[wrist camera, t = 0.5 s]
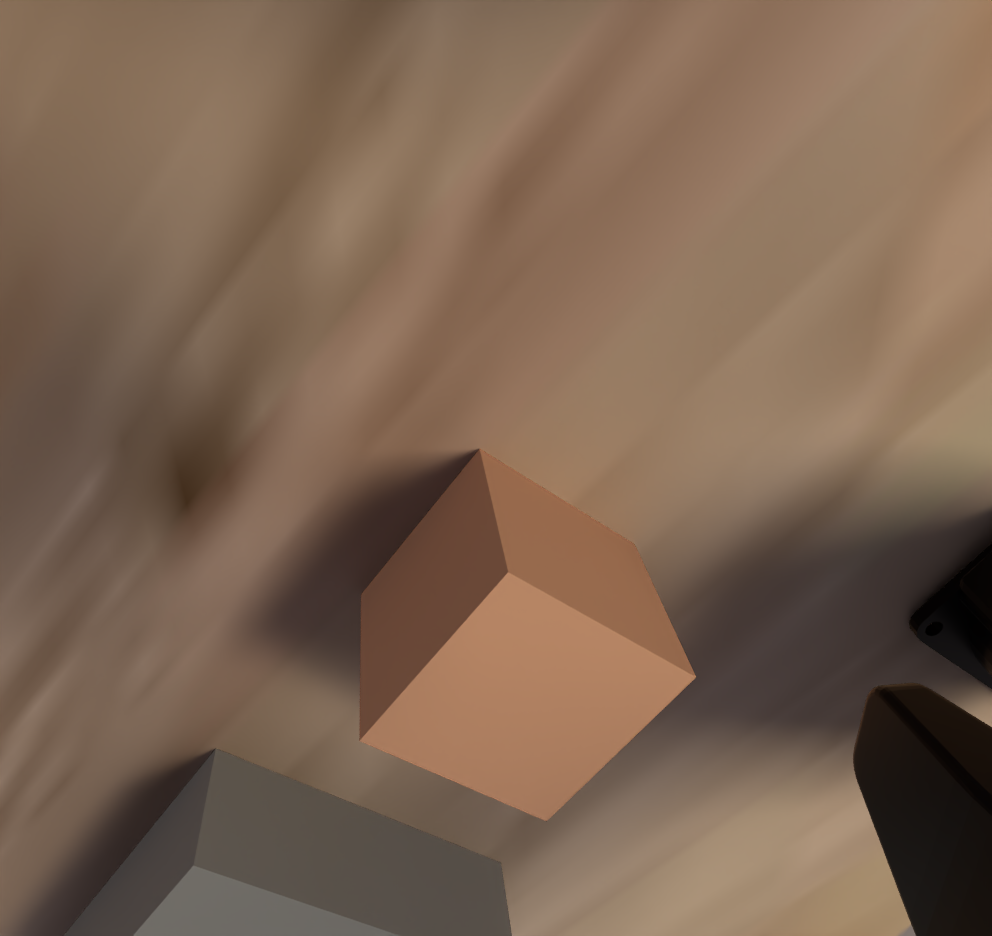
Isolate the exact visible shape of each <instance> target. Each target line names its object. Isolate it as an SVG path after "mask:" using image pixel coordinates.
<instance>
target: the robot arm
mask: <svg viewBox="0 0 992 936" xmlns="http://www.w3.org/2000/svg"><path fill="white" fill-rule="evenodd" d="M931 623H932V624H931ZM929 624H930V625H929ZM909 625H910V629H911V630H912V631H913V632H914V634H915V635H916V636H917V637H918V638H919V640H920V641H922V642H923V643H925V644H926V645H928V646H929V647H930V648H932V649H933V650H935V651H936V652H938V653H939V654H941V655H942V656H944V657H945V658H947V659H948V660H950V661H951V662H953V663H954V664H956V665H957V666H959V667H960V668H962V669H963V670H965V671H966V672H968V673H969V674H971V675H972V676H974V677H975V678H977V679H978V680H979V681H981V682H982V683H984V684H985V685H987V686H988V687H990V688H991V689H992V544H991V545H990V546H989V547H988V548H987V549H986V550H985V551H984V552H982V553H981V554H980V555H979V556H978V557H977V558H976V559H975V560H973V561H972V562H971V563H970V564H969V565H968V566H967V567H966V568H965V569H963V570H962V571H961V572H960V573H959V574H958V575H957V576H956V577H954V578H953V579H952V580H951V581H950V582H949V583H948V584H947V585H946V586H944V587H943V588H942V589H941V590H940V591H939V592H938V593H937V594H935V595H934V596H933V597H932V598H931V599H930V600H929V601H928V602H927V603H925V604H924V605H923V606H922V607H921V608H920V609H919V610H918V611H917V612H915V614H914V615H913V616H912V617H911V620H910V622H909ZM928 625H929V626H928ZM853 763H854V771H855V775H856V779H857V782H858V784H859V787H860V790H861V792H862V795H863V798H864V800H865V803H866V806H867V808H868V811H869V814H870V816H871V819H872V822H873V824H874V827H875V830H876V832H877V835H878V837H879V840H880V843H881V845H882V848H883V851H884V853H885V856H886V859H887V861H888V864H889V867H890V869H891V872H892V875H893V877H894V880H895V883H896V885H897V888H898V891H899V893H900V896H901V898H902V901H903V904H904V906H905V909H906V912H907V914H908V917H909V920H910V922H911V925H912V927H913V929H914V932H915V934H916V936H992V727H990V726H989V725H987V724H985V723H984V722H982V721H981V720H979V719H977V718H976V717H974V716H973V715H971V714H969V713H968V712H966V711H965V710H963V709H961V708H960V707H958V706H957V705H955V704H953V703H952V702H950V701H949V700H947V699H945V698H944V697H942V696H940V695H939V694H937V693H936V692H934V691H932V690H931V689H929V688H927V687H925V686H923V685H921V684H917V683H904V684H893V685H881V686H877V687H875V688H873V689H872V690H871V691H870V693H869V694H868V696H867V699H866V702H865V707H864V711H863V715H862V719H861V723H860V727H859V731H858V735H857V739H856V743H855V748H854V754H853Z"/></svg>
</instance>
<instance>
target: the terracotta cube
mask: <svg viewBox="0 0 992 936" xmlns="http://www.w3.org/2000/svg"><path fill="white" fill-rule="evenodd" d="M695 678H696V676H695V674H694V671H693V669H692V667H691V665H690V663H689V661H688V659H687V656H686V654H685V652H684V650H683V648H682V646H681V643H680V641H679V639H678V637H677V635H676V633H675V630H674V628H673V626H672V624H671V622H670V620H669V617H668V615H667V613H666V611H665V609H664V607H663V605H662V602H661V600H660V598H659V596H658V594H657V592H656V589H655V587H654V585H653V583H652V581H651V579H650V576H649V574H648V572H647V570H646V568H645V566H644V564H643V561H642V559H641V557H640V555H639V553H638V551H637V548H636V546H635V544H633V543H632V542H630V541H629V540H627V539H625V538H624V537H622V536H620V535H619V534H617V533H616V532H614V531H612V530H611V529H609V528H607V527H606V526H604V525H603V524H601V523H599V522H598V521H596V520H594V519H593V518H591V517H590V516H588V515H586V514H585V513H583V512H582V511H580V510H578V509H577V508H575V507H573V506H572V505H570V504H569V503H567V502H565V501H564V500H562V499H560V498H559V497H557V496H556V495H554V494H552V493H551V492H549V491H547V490H546V489H544V488H543V487H541V486H539V485H538V484H536V483H534V482H533V481H531V480H530V479H528V478H526V477H525V476H523V475H522V474H520V473H518V472H517V471H515V470H513V469H512V468H510V467H509V466H507V465H505V464H504V463H502V462H500V461H499V460H497V459H496V458H494V457H492V456H491V455H489V454H487V453H486V452H484V451H483V450H481V449H479V450H478V451H477V452H476V454H475V455H474V456H473V457H472V459H471V460H470V461H469V462H468V464H467V465H466V466H465V467H464V468H463V470H462V471H461V472H460V473H459V475H458V476H457V477H456V478H455V480H454V481H453V482H452V483H451V484H450V486H449V487H448V488H447V489H446V491H445V492H444V493H443V494H442V496H441V497H440V498H439V499H438V500H437V502H436V503H435V504H434V505H433V507H432V508H431V509H430V510H429V512H428V513H427V514H426V515H425V516H424V518H423V519H422V520H421V521H420V523H419V524H418V525H417V526H416V527H415V529H414V530H413V531H412V532H411V534H410V535H409V536H408V537H407V539H406V540H405V541H404V542H403V543H402V545H401V546H400V547H399V548H398V550H397V551H396V552H395V553H394V555H393V556H392V557H391V558H390V559H389V561H388V562H387V563H386V564H385V566H384V567H383V568H382V569H381V571H380V572H379V573H378V574H377V575H376V577H375V578H374V579H373V580H372V582H371V583H370V584H369V585H368V587H367V588H366V589H365V590H364V591H363V593H362V594H361V650H360V738H359V741H361V742H363V743H365V744H368V745H370V746H372V747H375V748H377V749H379V750H382V751H384V752H386V753H389V754H391V755H393V756H396V757H398V758H400V759H403V760H405V761H407V762H410V763H412V764H414V765H417V766H419V767H421V768H424V769H426V770H428V771H431V772H433V773H435V774H437V775H440V776H442V777H444V778H447V779H449V780H451V781H454V782H456V783H458V784H461V785H463V786H465V787H468V788H470V789H472V790H475V791H477V792H479V793H482V794H484V795H486V796H489V797H491V798H493V799H496V800H498V801H500V802H503V803H505V804H507V805H510V806H512V807H514V808H517V809H519V810H521V811H524V812H526V813H528V814H531V815H533V816H535V817H538V818H540V819H542V820H545V821H547V820H548V819H549V818H550V817H552V816H553V815H554V814H555V813H556V812H557V811H558V810H559V809H560V808H561V807H562V806H563V805H564V804H565V803H566V802H567V801H568V800H569V799H570V798H571V797H572V796H573V795H574V794H575V793H576V792H577V791H579V790H580V789H581V788H582V787H583V786H584V785H585V784H586V783H587V782H588V781H589V780H590V779H591V778H592V777H593V776H594V775H595V774H596V773H597V772H598V771H599V770H600V769H601V768H602V767H603V766H604V765H606V764H607V763H608V762H609V761H610V760H611V759H612V758H613V757H614V756H615V755H616V754H617V753H618V752H619V751H620V750H621V749H622V748H623V747H624V746H625V745H626V744H627V743H628V742H629V741H630V740H631V739H633V738H634V737H635V736H636V735H637V734H638V733H639V732H640V731H641V730H642V729H643V728H644V727H645V726H646V725H647V724H648V723H649V722H650V721H651V720H652V719H653V718H654V717H655V716H656V715H657V714H658V713H660V712H661V711H662V710H663V709H664V708H665V707H666V706H667V705H668V704H669V703H670V702H671V701H672V700H673V699H674V698H675V697H676V696H677V695H678V694H679V693H680V692H681V691H682V690H683V689H684V688H685V687H687V686H688V685H689V684H690V683H691V682H692V681H693V680H694V679H695Z"/></svg>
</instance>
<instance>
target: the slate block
mask: <svg viewBox="0 0 992 936" xmlns="http://www.w3.org/2000/svg"><path fill="white" fill-rule="evenodd" d="M64 936H512V933H511V927H510V920H509V913H508V907H507V900H506V893H505V887H504V880H503V874H502V867H501V863H500V862H498V861H495V860H493V859H490V858H488V857H485V856H483V855H480V854H478V853H475V852H473V851H470V850H468V849H466V848H463V847H461V846H458V845H456V844H453V843H451V842H448V841H446V840H443V839H441V838H438V837H436V836H433V835H431V834H428V833H426V832H423V831H421V830H418V829H416V828H413V827H411V826H408V825H406V824H403V823H401V822H398V821H396V820H393V819H391V818H388V817H386V816H383V815H381V814H378V813H376V812H373V811H371V810H368V809H366V808H363V807H361V806H358V805H356V804H353V803H351V802H348V801H346V800H343V799H341V798H338V797H336V796H333V795H331V794H328V793H326V792H323V791H321V790H318V789H316V788H313V787H311V786H308V785H306V784H303V783H301V782H298V781H296V780H293V779H291V778H288V777H286V776H283V775H281V774H278V773H276V772H274V771H271V770H269V769H266V768H264V767H261V766H259V765H256V764H254V763H251V762H249V761H246V760H244V759H241V758H239V757H236V756H234V755H231V754H229V753H226V752H224V751H221V750H219V749H215V750H214V751H213V753H212V754H211V755H210V756H209V758H208V759H207V760H206V761H205V762H204V764H203V765H202V766H201V767H200V769H199V770H198V771H197V772H196V774H195V775H194V776H193V777H192V778H191V780H190V781H189V782H188V783H187V785H186V786H185V787H184V788H183V789H182V791H181V792H180V793H179V794H178V796H177V797H176V798H175V799H174V801H173V802H172V803H171V804H170V805H169V807H168V808H167V809H166V810H165V812H164V813H163V814H162V815H161V817H160V818H159V819H158V820H157V821H156V823H155V824H154V825H153V826H152V828H151V829H150V830H149V831H148V832H147V834H146V835H145V836H144V837H143V839H142V840H141V841H140V842H139V844H138V845H137V846H136V847H135V848H134V850H133V851H132V852H131V853H130V855H129V856H128V857H127V858H126V860H125V861H124V862H123V863H122V864H121V866H120V867H119V868H118V869H117V871H116V872H115V873H114V874H113V875H112V877H111V878H110V879H109V880H108V882H107V883H106V884H105V885H104V887H103V888H102V889H101V890H100V891H99V893H98V894H97V895H96V896H95V898H94V899H93V900H92V901H91V903H90V904H89V905H88V906H87V907H86V909H85V910H84V911H83V912H82V914H81V915H80V916H79V917H78V918H77V920H76V921H75V922H74V923H73V925H72V926H71V927H70V928H69V930H68V931H67V932H66V933H65V934H64Z"/></svg>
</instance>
